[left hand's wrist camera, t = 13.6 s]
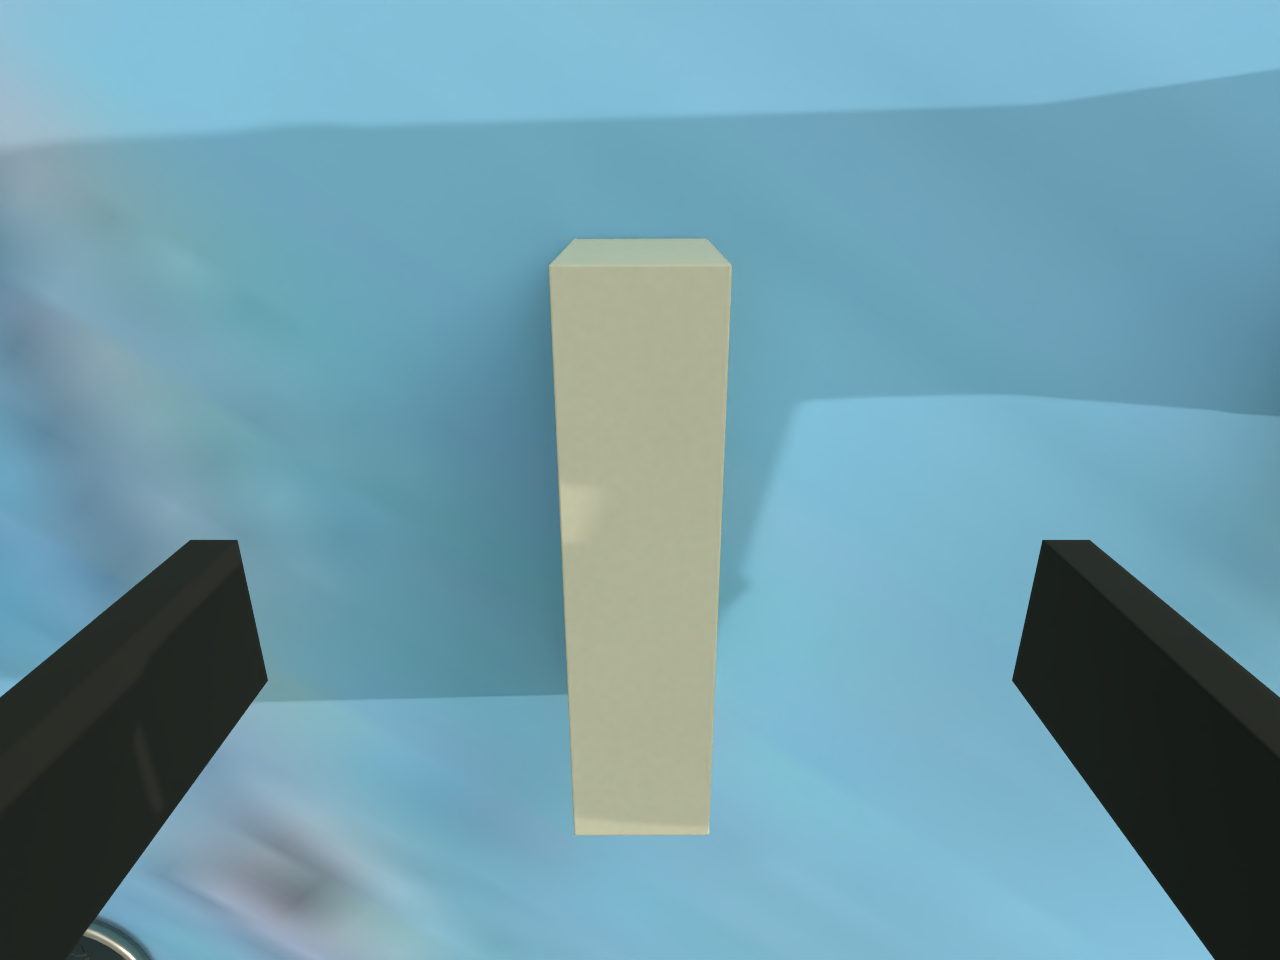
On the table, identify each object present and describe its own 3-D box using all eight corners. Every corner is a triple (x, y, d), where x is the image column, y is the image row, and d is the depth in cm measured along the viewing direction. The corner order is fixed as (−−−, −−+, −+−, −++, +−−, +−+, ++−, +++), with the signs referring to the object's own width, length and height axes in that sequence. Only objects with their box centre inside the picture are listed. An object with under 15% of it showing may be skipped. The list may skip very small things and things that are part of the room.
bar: (573, 238, 32) (548, 265, 23) (707, 238, 32) (732, 264, 23) (588, 692, 40) (574, 835, 32) (694, 692, 40) (708, 835, 32)
